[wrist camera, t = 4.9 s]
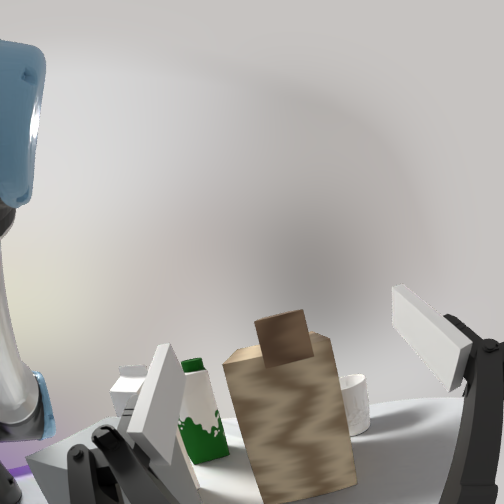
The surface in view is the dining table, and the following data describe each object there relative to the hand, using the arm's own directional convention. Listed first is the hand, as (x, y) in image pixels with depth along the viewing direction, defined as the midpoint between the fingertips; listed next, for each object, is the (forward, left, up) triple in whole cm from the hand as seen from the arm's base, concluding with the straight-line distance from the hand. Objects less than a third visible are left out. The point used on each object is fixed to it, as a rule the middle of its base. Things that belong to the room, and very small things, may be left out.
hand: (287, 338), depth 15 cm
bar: (0, +17, -3) cm, 17 cm away
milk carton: (-19, +35, -24) cm, 46 cm away
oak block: (-1, +22, -24) cm, 32 cm away
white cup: (+9, +33, -24) cm, 42 cm away
